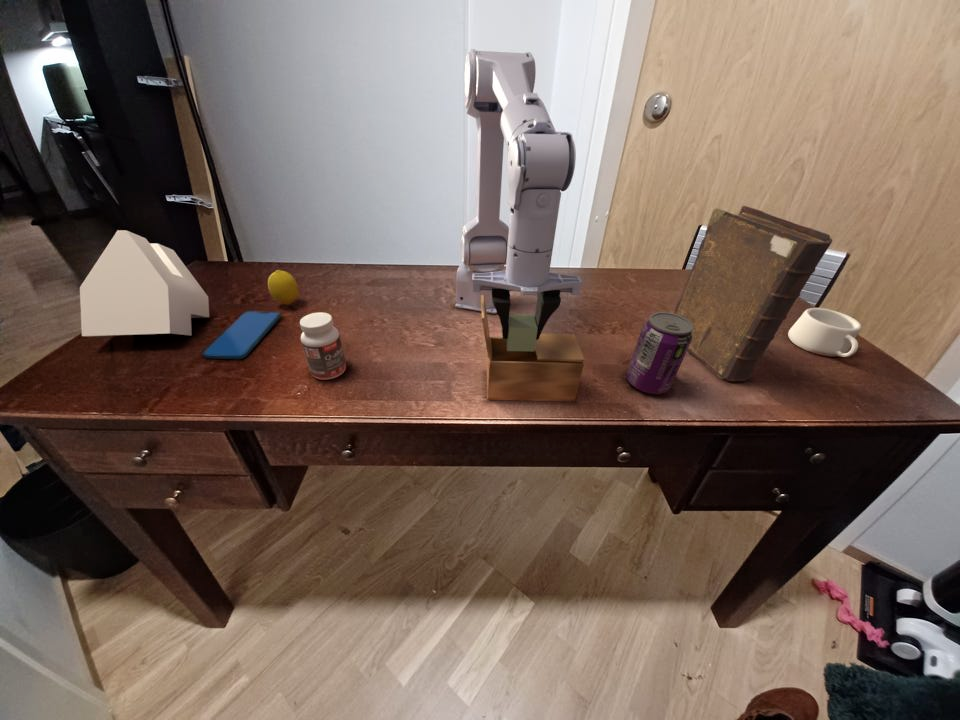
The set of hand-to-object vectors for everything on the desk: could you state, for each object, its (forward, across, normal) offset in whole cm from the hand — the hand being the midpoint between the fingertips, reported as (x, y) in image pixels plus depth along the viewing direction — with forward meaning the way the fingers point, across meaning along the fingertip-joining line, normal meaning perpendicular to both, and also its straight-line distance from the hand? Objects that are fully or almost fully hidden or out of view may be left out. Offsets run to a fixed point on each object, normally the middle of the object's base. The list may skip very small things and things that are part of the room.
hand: (519, 335), depth 54 cm
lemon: (+10, -47, +26) cm, 55 cm away
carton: (+10, +2, 0) cm, 10 cm away
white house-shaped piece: (+10, -68, +18) cm, 71 cm away
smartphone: (+10, -50, +13) cm, 53 cm away
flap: (-2, -5, 0) cm, 5 cm away
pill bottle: (+10, -31, +3) cm, 33 cm away
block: (+1, 0, 0) cm, 1 cm away
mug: (+10, +62, +14) cm, 64 cm away
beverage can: (+10, +23, +1) cm, 25 cm away
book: (+10, +37, +10) cm, 39 cm away
